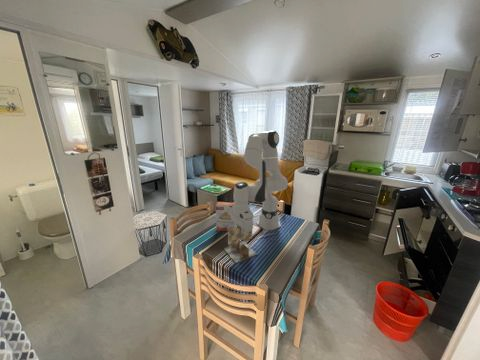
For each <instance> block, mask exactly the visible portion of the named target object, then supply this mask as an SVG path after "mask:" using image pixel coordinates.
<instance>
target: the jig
mask: <svg viewBox="0 0 480 360" xmlns="http://www.w3.org/2000/svg"><path fill="white" fill-rule="evenodd" d="M223 250H224V251H225V252H226V254H227V255H228V256H229V258H230V259H231V260H232V261H233V262H234V264H239V263H241V262H244V261H246V260H248V259H251V258H253V257H256V256H258V254H257V253H256V251H254V250H253V249H252V247H250V245H249V244H247V242H246V241H243V240H242V241H241V240H240V238H238V243H237V244H235V245H232V246H229V245H228V246H226V247H224V248H223ZM238 262H239V263H238Z"/></svg>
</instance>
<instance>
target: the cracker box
mask: <svg viewBox="0 0 480 360" xmlns="http://www.w3.org/2000/svg"><path fill="white" fill-rule="evenodd" d="M233 204H234V202H225V201H217V202H216V205H215V209H216V210H215V211H216V213H215V219H216V220H215V222H216V223H215V225H216V231H222V232H223V231H225V232H228V230H229V229H232V228H235V227H237V225H236V222H235V221H233V220H232V219H231V218H230V210H231V208H232V205H233Z"/></svg>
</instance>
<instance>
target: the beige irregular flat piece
mask: <svg viewBox="0 0 480 360" xmlns="http://www.w3.org/2000/svg"><path fill="white" fill-rule="evenodd" d="M240 230H241V227H240V226H238V227H237V226H236V227H235V228H232V229H229V230H228V231H227V245H228V247H229V246H232V245H235V244H237V243H238V239H241V240H242V242H243V241H244V242H246V241H248V240H251V239H252V238H253V230H252V231H250V232H246V231H245V230H244V233H241V232H240Z"/></svg>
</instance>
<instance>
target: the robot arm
mask: <svg viewBox="0 0 480 360" xmlns="http://www.w3.org/2000/svg"><path fill="white" fill-rule="evenodd" d="M279 135H280V134H279V133H278V132H277V131H276V130H268V131H267V130H266V131H260V132H257V133H252V134H250V135H249V136H248V139H247V143H246V146H245V150H244V155H243V159H244V162H245V163H246V164H247V165H248V166H250V167H252V168H253V169H256V170H257V171H258V175H259V177H258V179H256V180H255V182H254V184H248V182H245V181H239V182H236V183H235V184H234V188H233V194H232V195H233V199H232V200H233V203H234V204H233V205H232V208H231V210H230V218H231V219H232V220H233V221H235V222H236V227H238V226H240V227H241V230H240V232H241V233H244V230H245V231H246V232H250V231H252V232H253V229H254V219H253V218H254V213H253V212H252V210H251V209H250V207H249V202H255V203H258V204H262V207H261V212H260V213H259V217H258V220H257V222H256V225H258V226H259V227H260V228H261V227H262V230H266V231H267V230H268V231H274V230H276V229H279V228H281V227H282V225H281V222H280V217H279V214H278V212H279V211H278V201H279V200H278V198H277V197H276V196H274V195H273V193H274V192H276V193H277V192H281V191H284V190H286V189H287V188H288V186H289V181H288V179H287V177H286V176H284V175H283V174H282V172H281V169H280V166H279V154H278V148H277V147H278V145H279V143H280V136H279ZM267 173H268V175H269V176H267Z"/></svg>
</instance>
